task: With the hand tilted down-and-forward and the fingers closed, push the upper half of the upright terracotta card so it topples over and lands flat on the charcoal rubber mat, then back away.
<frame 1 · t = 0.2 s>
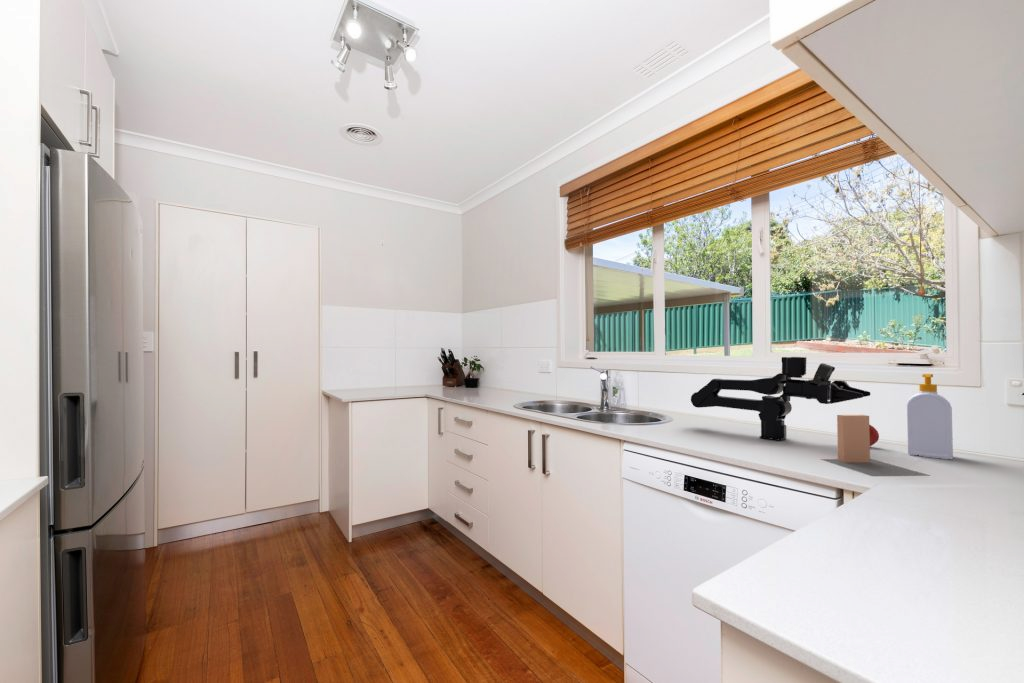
hand: (866, 394, 129), 17 cm above the counter, tool horizontal, fingers open, 9 cm apart
soap bottle: (929, 456, 123), on the counter
charcoal mat: (871, 468, 109), on the counter
terracotta card: (853, 461, 115), resting on charcoal mat
onion: (866, 447, 134), on the counter
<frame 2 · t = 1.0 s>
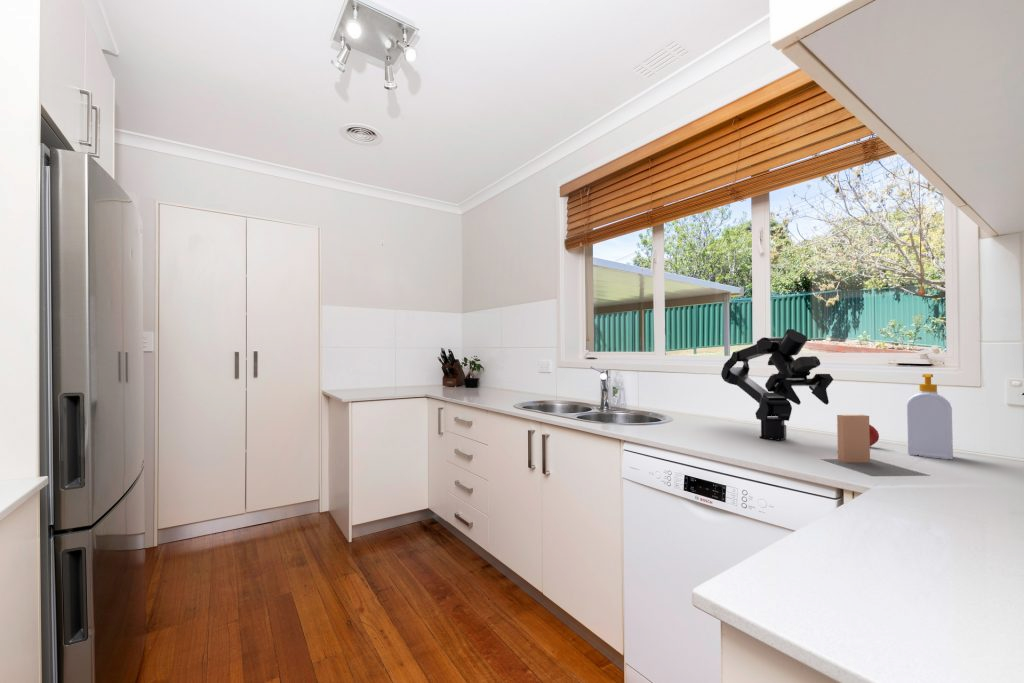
hand: (813, 403, 130), 14 cm above the counter, tool tilted 45°, fingers open, 8 cm apart
nothing on the counter moved.
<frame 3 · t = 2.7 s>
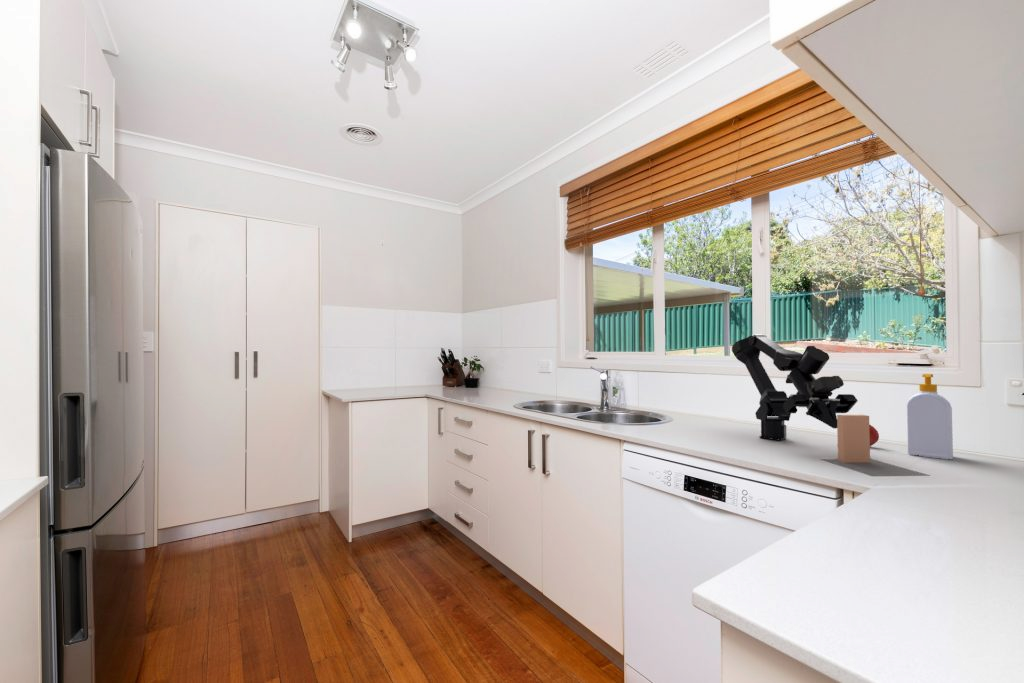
hand: (836, 427, 120), 8 cm above the counter, tool tilted 45°, fingers closed
nothing on the counter moved.
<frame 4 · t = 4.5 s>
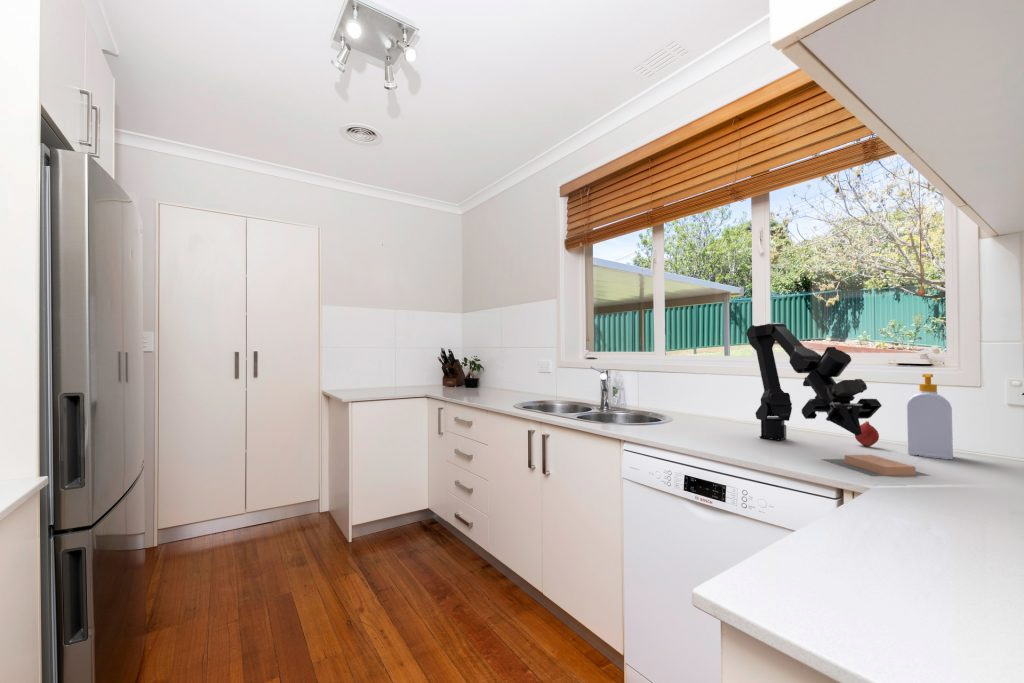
hand: (859, 434, 113), 8 cm above the counter, tool tilted 45°, fingers closed
terracotta card: (857, 458, 113), point 1 cm above the counter, tilted 90°, touching charcoal mat
everything else where it was.
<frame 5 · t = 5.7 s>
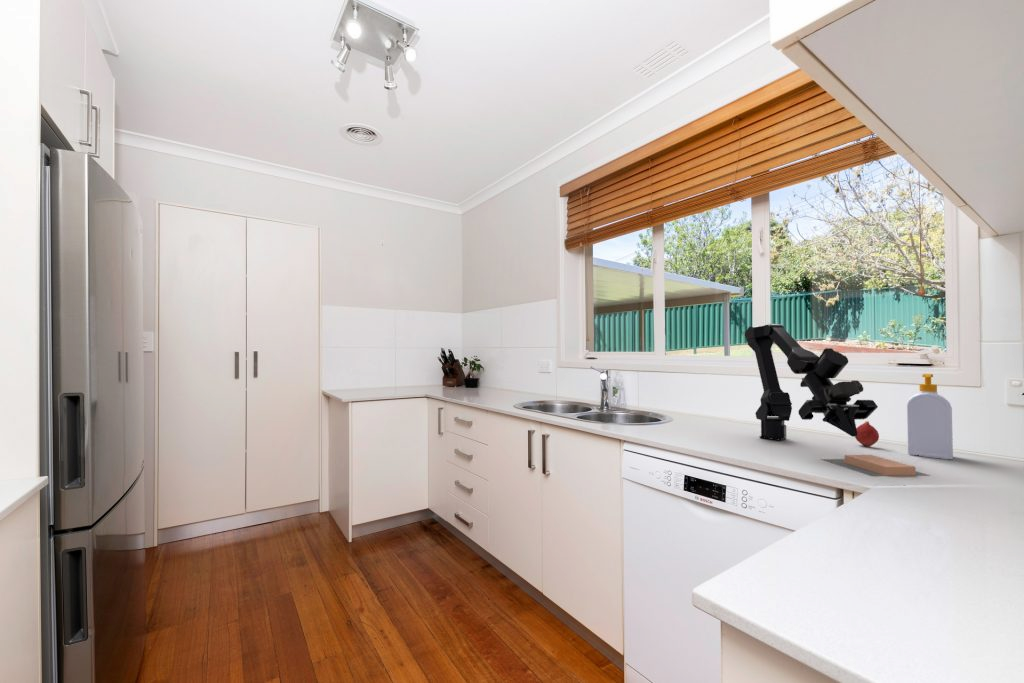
hand: (855, 435, 114), 7 cm above the counter, tool tilted 45°, fingers closed
nothing on the counter moved.
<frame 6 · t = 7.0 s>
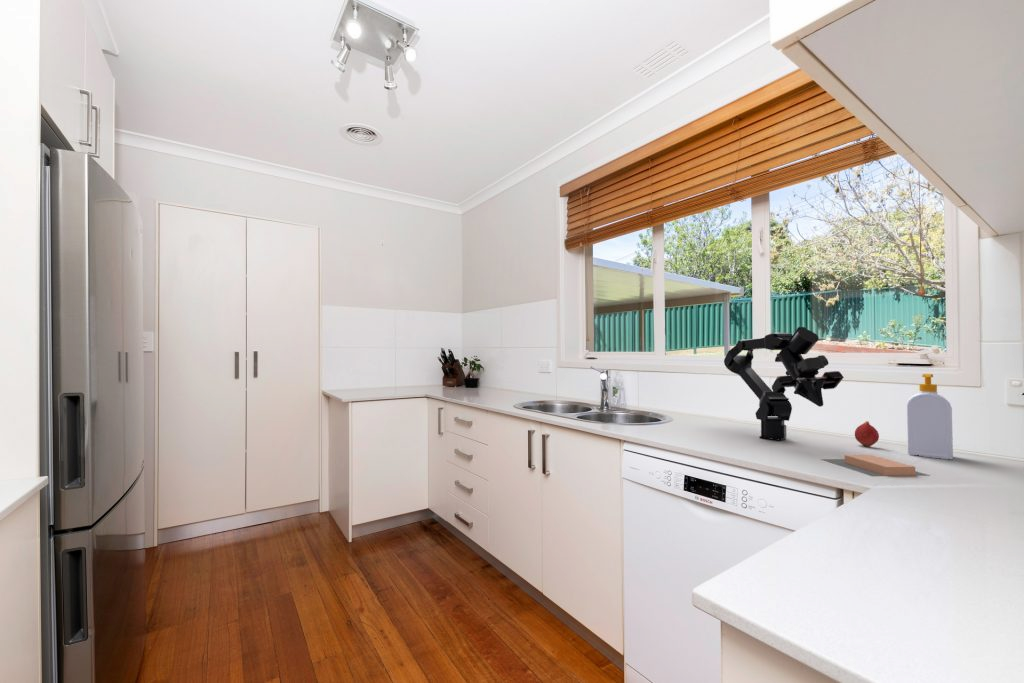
hand: (821, 405, 127), 13 cm above the counter, tool tilted 40°, fingers closed
nothing on the counter moved.
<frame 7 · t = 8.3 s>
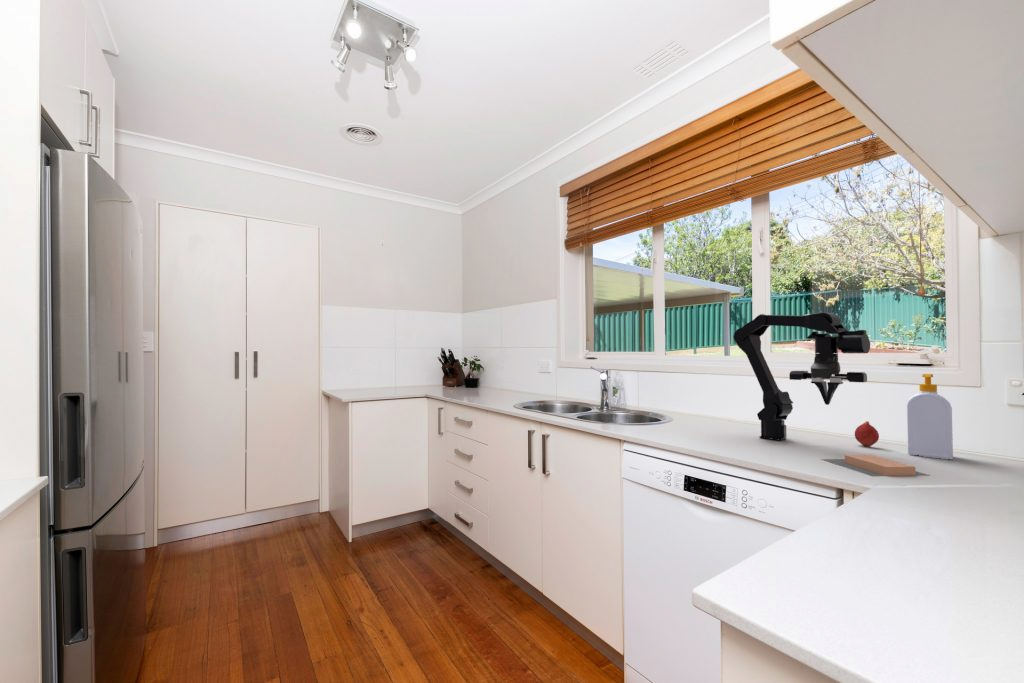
hand: (827, 404, 134), 13 cm above the counter, tool pointing down, fingers closed
nothing on the counter moved.
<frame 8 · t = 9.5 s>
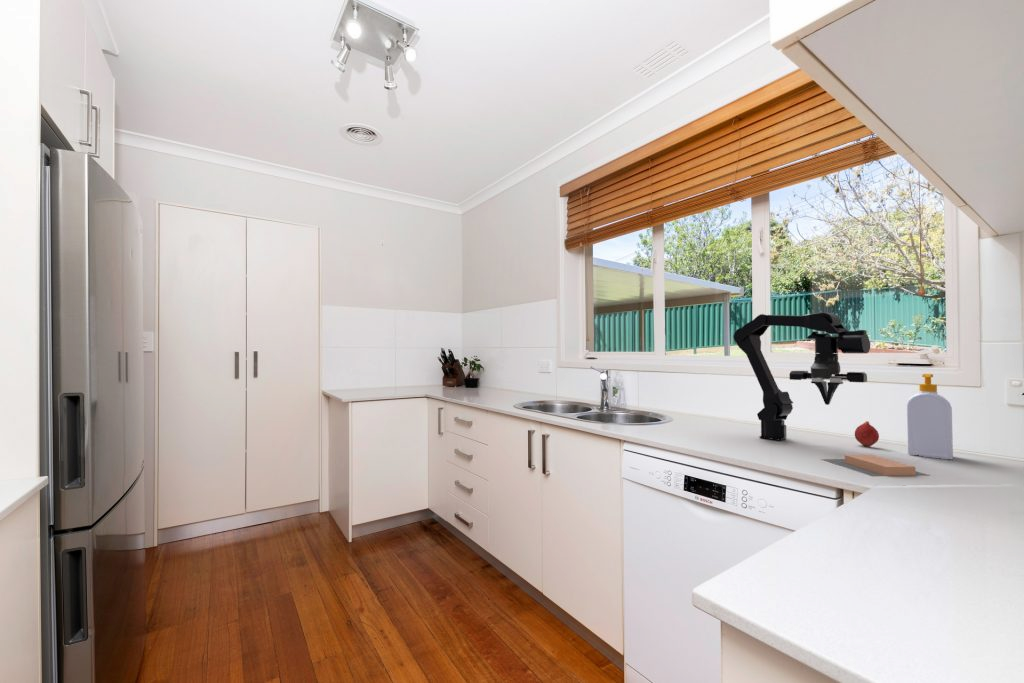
hand: (827, 404, 134), 13 cm above the counter, tool pointing down, fingers closed
nothing on the counter moved.
at the end: terracotta card tilted 90°; terracotta card inside the target area on the charcoal mat (4.1 cm from its centre), point 1.4 cm above the charcoal mat's base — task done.
